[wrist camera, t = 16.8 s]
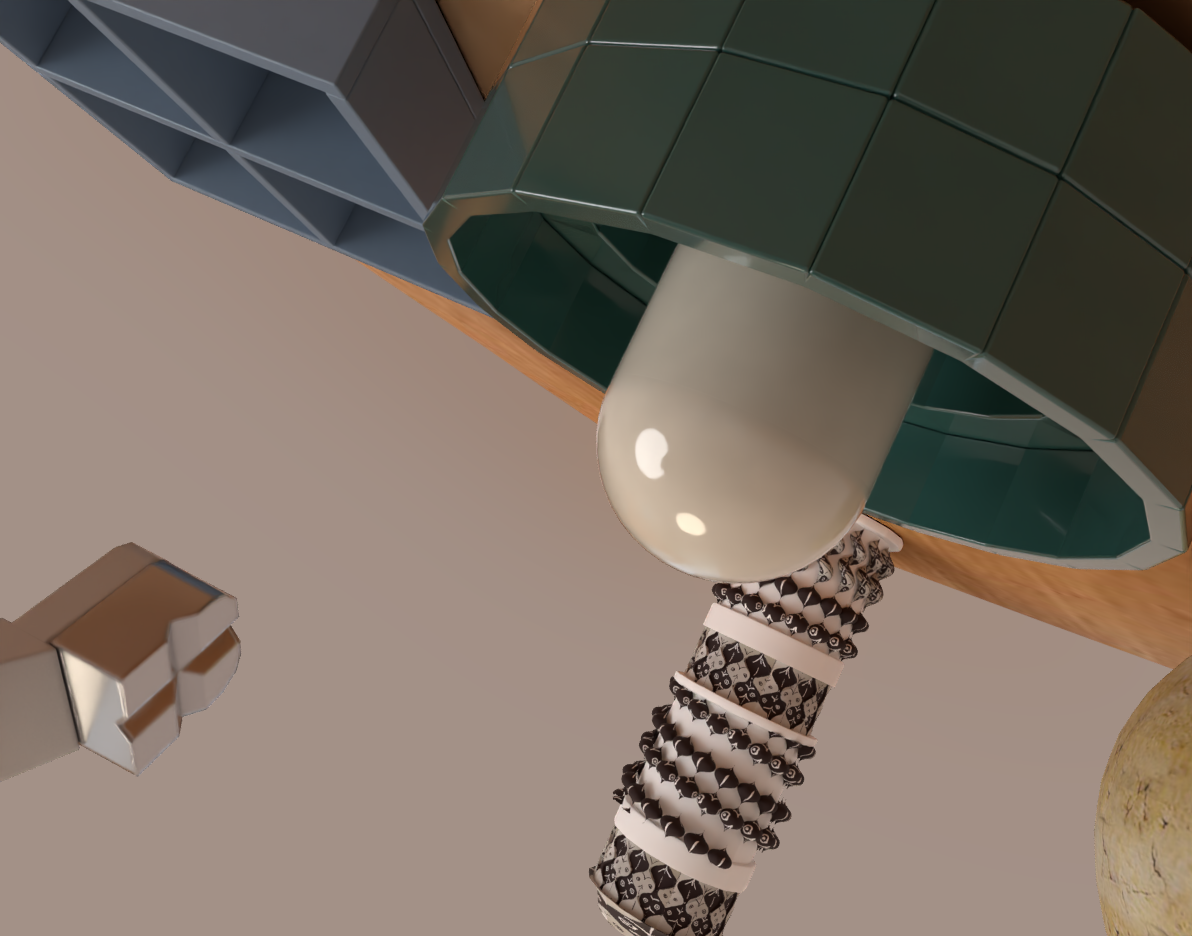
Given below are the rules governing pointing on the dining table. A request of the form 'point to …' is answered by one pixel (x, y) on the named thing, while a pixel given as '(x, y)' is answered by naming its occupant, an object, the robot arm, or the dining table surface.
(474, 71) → the dining table surface
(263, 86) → the divided tray
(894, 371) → the cream capsule
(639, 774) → the decorative candle
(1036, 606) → the dining table surface
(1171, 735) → the fossilized egg
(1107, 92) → the bowl
